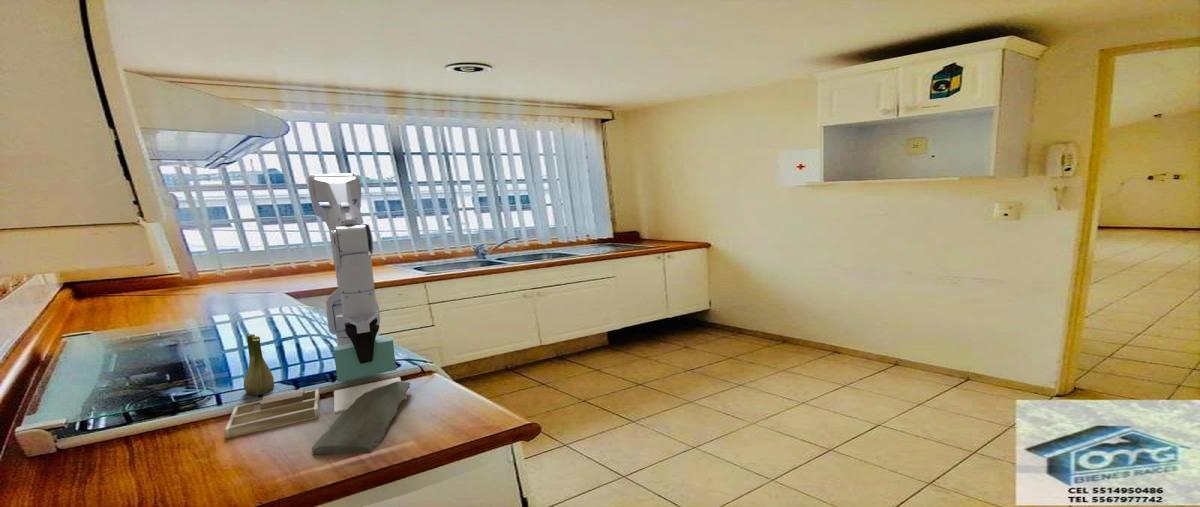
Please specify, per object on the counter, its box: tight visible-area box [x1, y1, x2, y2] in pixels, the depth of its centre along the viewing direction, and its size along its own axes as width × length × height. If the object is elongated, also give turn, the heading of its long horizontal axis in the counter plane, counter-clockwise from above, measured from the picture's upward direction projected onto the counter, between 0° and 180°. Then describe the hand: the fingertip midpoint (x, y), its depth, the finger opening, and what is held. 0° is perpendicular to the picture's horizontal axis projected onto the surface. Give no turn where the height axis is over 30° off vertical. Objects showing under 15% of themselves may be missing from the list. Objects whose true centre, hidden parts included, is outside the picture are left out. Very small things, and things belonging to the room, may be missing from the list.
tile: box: [333, 376, 407, 414], centre depth 93 cm, size 10×12×1 cm
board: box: [333, 336, 397, 383], centre depth 92 cm, size 2×10×6 cm, turn 119°
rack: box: [224, 388, 321, 440], centre depth 86 cm, size 10×13×2 cm
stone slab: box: [311, 380, 411, 455], centre depth 83 cm, size 22×3×10 cm
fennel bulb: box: [243, 333, 275, 396], centre depth 96 cm, size 6×5×12 cm
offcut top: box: [260, 388, 305, 410], centre depth 88 cm, size 3×6×1 cm, turn 116°
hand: (365, 359), depth 92 cm, fingers closed on board, 2 cm apart
